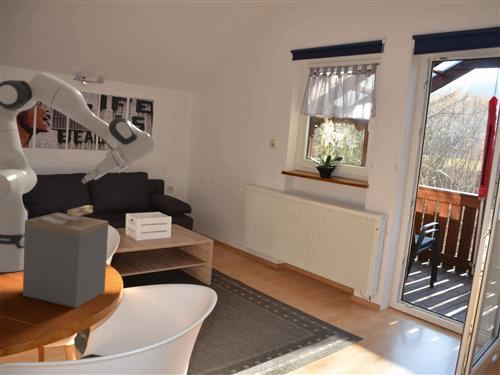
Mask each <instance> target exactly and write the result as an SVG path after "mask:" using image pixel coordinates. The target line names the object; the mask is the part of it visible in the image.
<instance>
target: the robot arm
mask: <svg viewBox="0 0 500 375" xmlns="http://www.w3.org/2000/svg"><path fill="white" fill-rule="evenodd" d="M39 102H41V103H42V104H45V105H47V106H48V107H50V108H51V109H53V110H55V111H57V112H58V113H60V114H62V115H64V116H65V117H67V118H69V119H71V120H72V121H74V122H75V123H77V124H79V125H81V126H82V127H83V128H85V129H86V130H87V131H89V132H91V133H92V134H94V135H96V136H97V137H99V139H101V140H102V141H103V142H104V143H105V144H106V145H107V147H108V148H109V149H110V150H109V151H107V152H106V153H105V157H104V158H103V159H102V161H100V162H99V163H98V164H97V165H96V166H95V167H94V168H93V169H92V170H91V171H90V172H89V173H87V174H86V175H84V178H81V182H82V183H83V184H86V183H88V182H90V181H92V180H95V181H96V180H98V179H100V178H101V177H103V176H104V175H106V174H108V173H110V172H111V173H113V174H115V172H116V173H118V174H120V173H122V172H123V171H125V170H127V169H129V168H130V167H131V166H132V165H133V164H134V163H137V162H140V161H142V160H143V159H144V158H146V157H147V156H149V155H150V154H151V153H152V152H153V150H154V147H155V145H154V140H153V138H152V136H151V134H149V132H147V131H144V130H142V129H140V128H138V127H136V126H135V125H134V124H133V123H132V121H130V120H129V119H127V118H125V117H116V118H114V119H112V120H111V121H110V122H109V123H107V122H106V121H104V120H102V119H101V118H99V117H98V116H97V115H95V114H94V113H93V111H92V110H91V109H90V107H89V106H88V104H87V101H86V100H85V97H84V95H83V94H82V93H81V92H80V91H79V90H78V89H77V88H76V87H74V86H73V85H71V84H70V83H68V82H67V81H64V80H62V79H60V78H59V77H57V76H55V75H52V74H50V73H47V72H44V71H40V72H37V73H36V74H34V75H33V76H32V77H31V79H30V80H29V81H28V82H27V81H25V80H18V79H17V80H16V79H15V80H14V79H8V80H3V81H2V82H0V273H13V272H20V271H24V237H25V220H28V217H29V216H28V210H27V209H26V208H25V205H24V202H23V195H24V194H28V193H29V192H30V191H32V190H33V188H34V187H35V186H36V184H37V182H38V177H37V174H36V172H35V171H34V170H33V169H32V167H31V166H30V164H29V162H28V160H27V158H26V156H25V153H24V151H23V146H22V142H21V139H20V133H19V128H18V127H19V126H18V124H17V122H18V121H17V117H18V115H22V114H25V113H26V112H29V111H31V110H33V109H34V108H35V107H37V105H38V104H39Z"/></svg>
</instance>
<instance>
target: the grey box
mask: <svg viewBox="0 0 500 375" xmlns="http://www.w3.org/2000/svg"><path fill="white" fill-rule="evenodd" d="M58 213H59V214H65V215H67V213H64V212H59V211H57V212H54V213H49V214H46V215H42V216H37V217H33V218H27V220H25V237H24V270H23V277H22V278H23V279H22V280H23V281H22V283H23V284H22V296H25V297H29V298H33V299H36V300H40V301H41V300H42V301H45V302H50V303H53V304H58V305H63V306H67V307H69V308H75V309H77V308H79V307H81V306H82V305H84V304H85V303H88V302H89V301H91V300H93V299H94V298H96V297H97V296H99V295H101V294H103V293H105V290H106V272H107V271H106V270H107V254H108V253H107V252H108V238H109V236H108V235H109V221H108V220H103V219H99V218H93V217H86V216H83V215H81V216H77V217H81V219H80V220H77V221H74V222H70V223H67V224H63V225H58V224H53V223H47V222H42V221H38V218H42V217H46V216H50V215H54V214H58Z"/></svg>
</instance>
